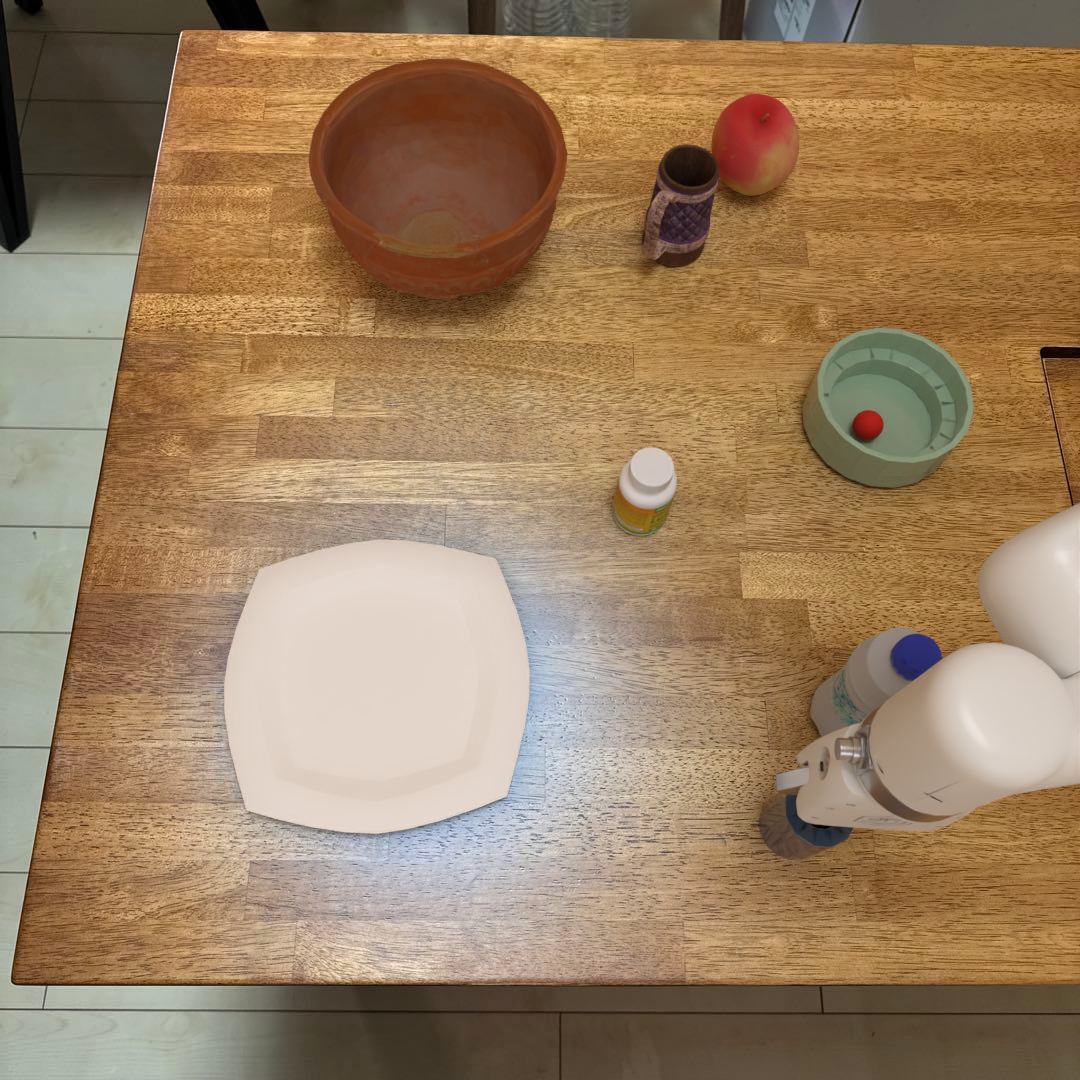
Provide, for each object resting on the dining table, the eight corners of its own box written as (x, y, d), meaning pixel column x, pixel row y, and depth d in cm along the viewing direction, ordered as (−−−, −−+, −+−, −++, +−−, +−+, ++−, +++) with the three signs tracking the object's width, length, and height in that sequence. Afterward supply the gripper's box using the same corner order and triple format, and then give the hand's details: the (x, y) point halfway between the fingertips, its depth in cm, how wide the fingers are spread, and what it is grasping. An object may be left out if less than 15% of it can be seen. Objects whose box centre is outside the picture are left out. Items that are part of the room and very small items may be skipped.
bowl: (311, 331, 107) (283, 235, 93) (356, 151, 117) (336, 40, 103) (545, 359, 107) (551, 267, 93) (570, 175, 116) (579, 68, 103)
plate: (237, 552, 97) (232, 544, 95) (521, 541, 98) (522, 532, 96) (219, 845, 86) (213, 842, 84) (537, 827, 88) (538, 824, 86)
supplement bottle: (650, 546, 98) (665, 503, 89) (602, 521, 99) (611, 475, 90) (675, 503, 100) (692, 457, 91) (627, 478, 101) (639, 430, 92)
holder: (821, 795, 89) (854, 776, 81) (824, 861, 87) (858, 849, 79) (758, 791, 89) (784, 771, 81) (759, 857, 87) (786, 844, 79)
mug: (663, 207, 115) (680, 125, 104) (716, 238, 114) (739, 159, 103) (612, 265, 112) (623, 187, 101) (665, 298, 110) (683, 222, 99)
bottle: (891, 716, 92) (987, 651, 74) (846, 769, 90) (933, 715, 72) (833, 665, 94) (912, 589, 76) (787, 716, 92) (858, 650, 74)
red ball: (876, 420, 104) (886, 405, 101) (878, 446, 103) (889, 431, 100) (847, 418, 104) (856, 403, 101) (849, 444, 103) (858, 429, 100)
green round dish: (941, 366, 108) (965, 333, 102) (955, 495, 102) (981, 467, 96) (798, 356, 108) (814, 322, 102) (804, 484, 102) (821, 455, 96)
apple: (696, 204, 115) (713, 137, 106) (709, 142, 119) (726, 72, 110) (780, 221, 115) (804, 155, 106) (790, 158, 119) (814, 89, 109)
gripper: (791, 811, 60) (731, 847, 77) (1061, 830, 60) (941, 862, 76) (787, 686, 63) (730, 747, 80) (1044, 704, 62) (932, 761, 79)
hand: (834, 803), depth 78 cm, fingers closed
